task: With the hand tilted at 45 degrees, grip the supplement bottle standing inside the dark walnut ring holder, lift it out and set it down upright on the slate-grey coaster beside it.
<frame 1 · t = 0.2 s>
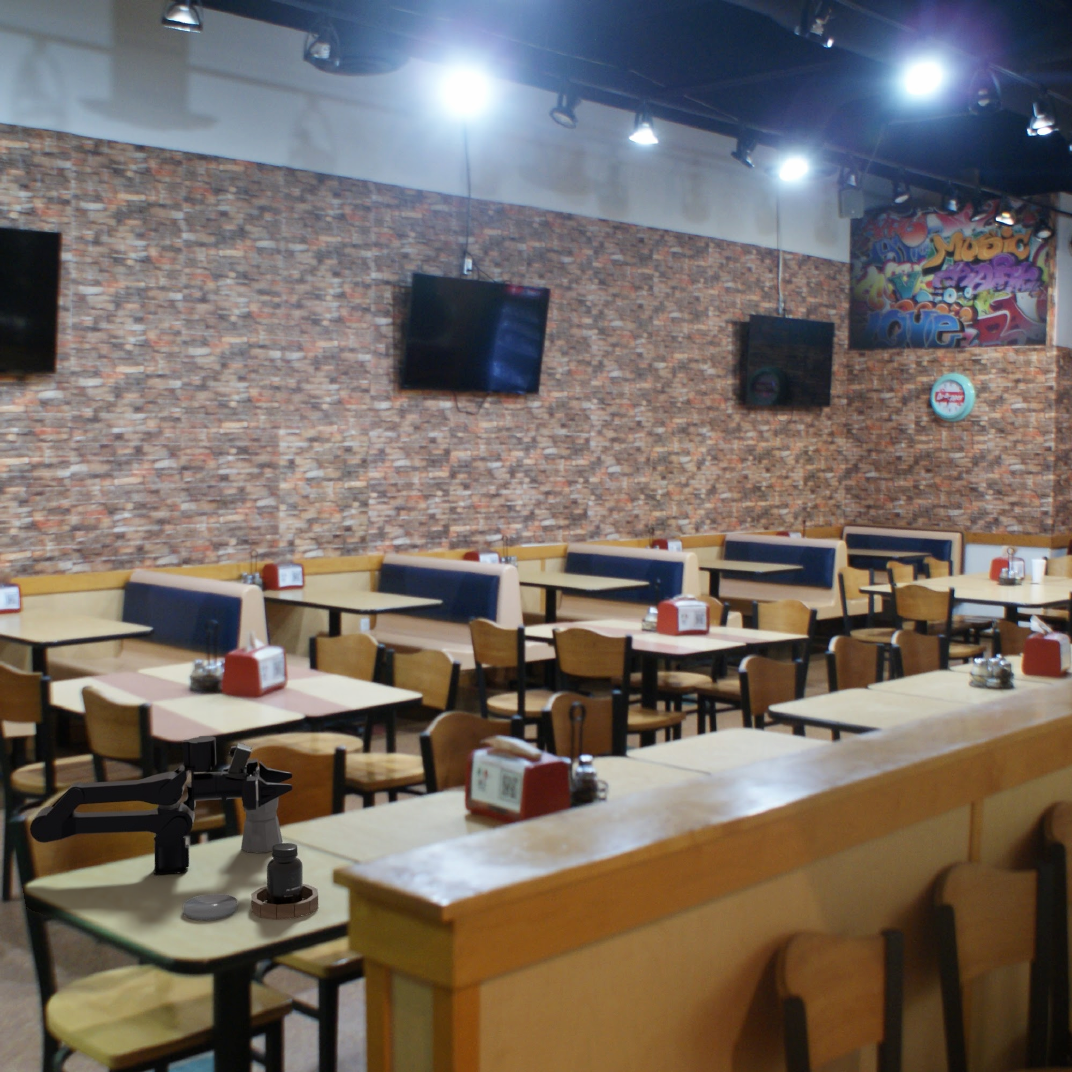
hand: (292, 781, 267), 18 cm above the table, tool horizontal, fingers open, 9 cm apart
coffeepot: (260, 845, 280), on the table, touching gripper
ring holder: (284, 906, 242), on the table
supplement bottle: (284, 908, 242), resting in ring holder
coaster: (210, 910, 240), on the table
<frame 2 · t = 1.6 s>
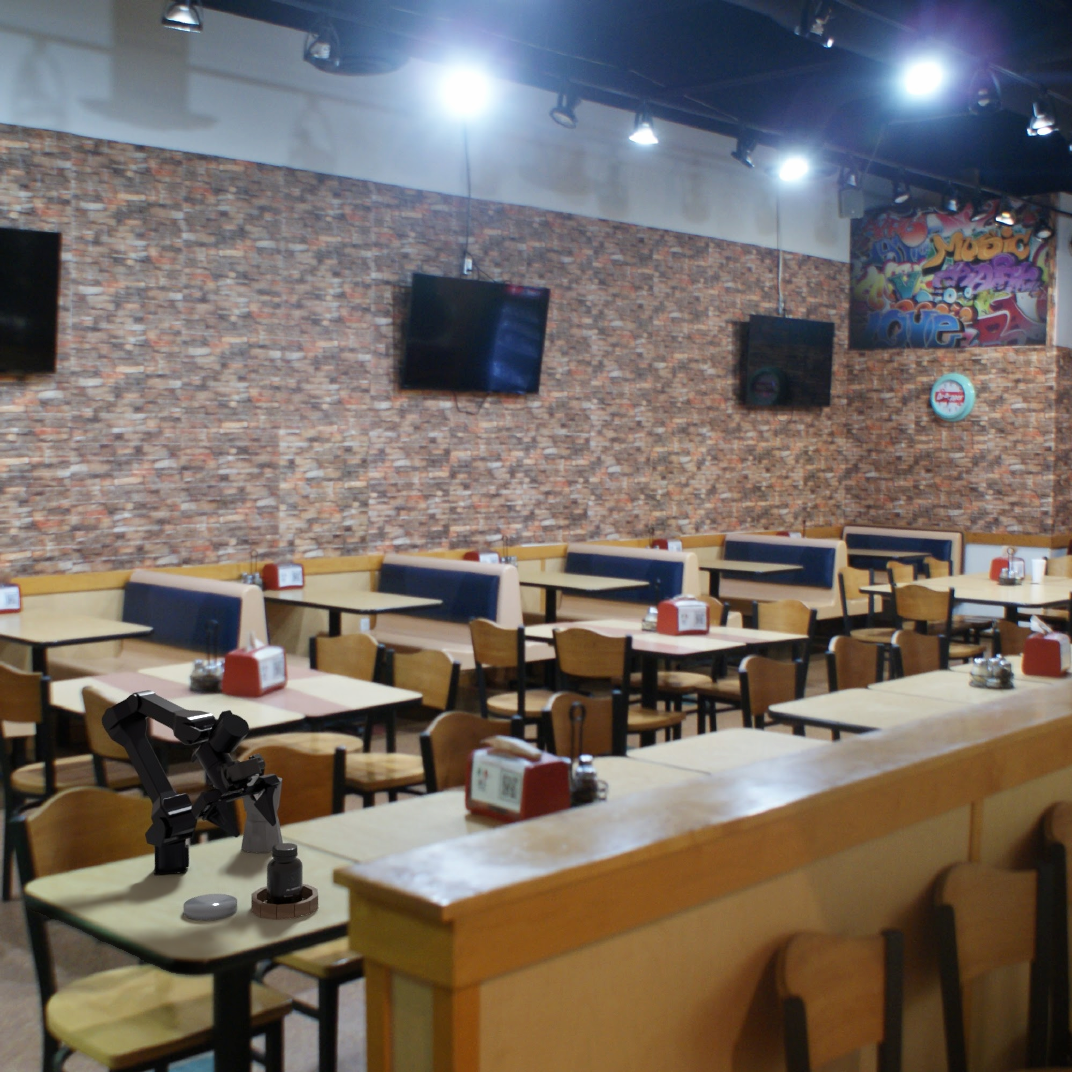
hand: (256, 830, 246), 14 cm above the table, tool tilted 45°, fingers open, 9 cm apart
coffeepot: (261, 846, 280), on the table
everything else where it was.
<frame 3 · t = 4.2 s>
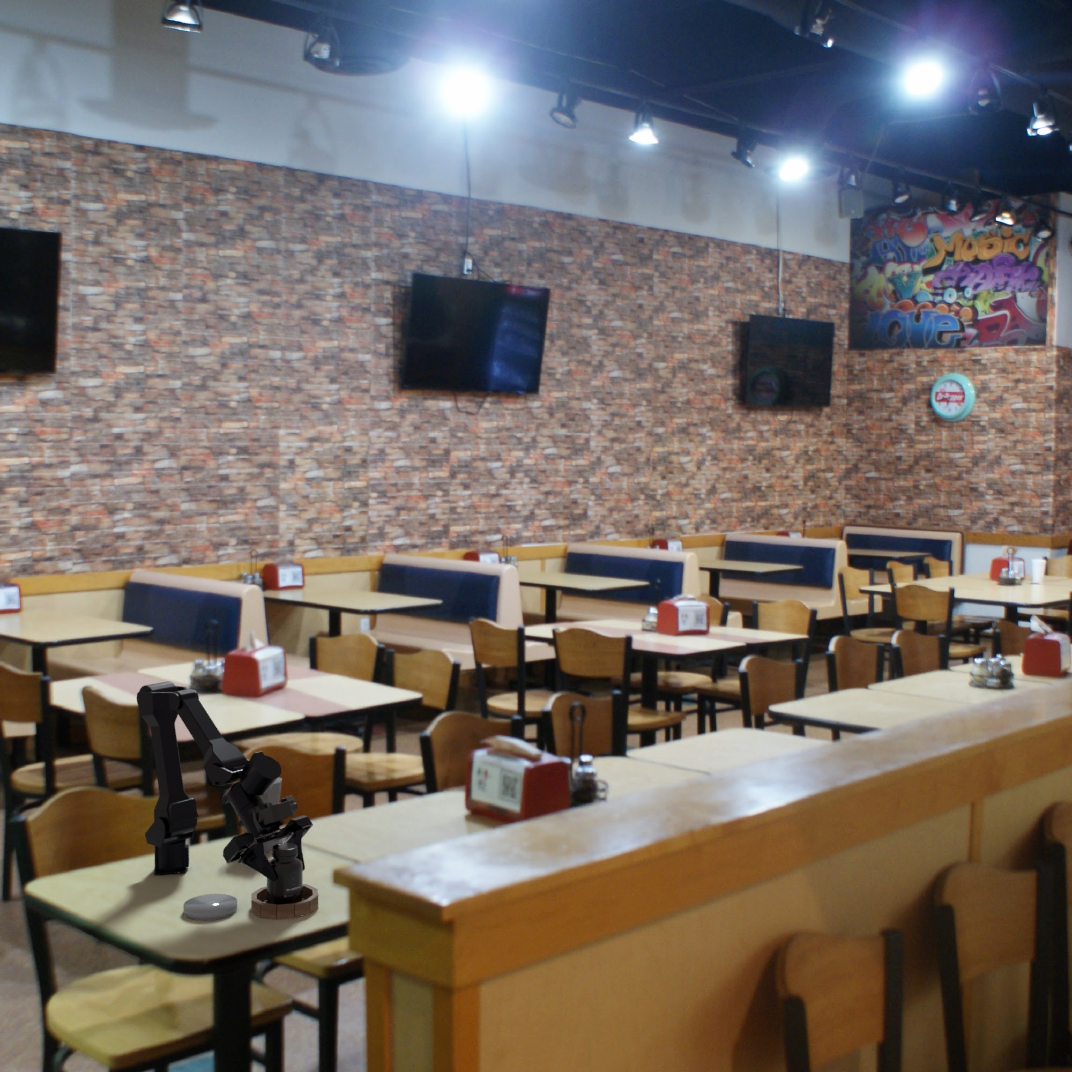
hand: (289, 875, 241), 7 cm above the table, tool tilted 45°, fingers closed on supplement bottle, 7 cm apart
supplement bottle: (284, 908, 242), resting in ring holder, touching gripper
everything else where it was.
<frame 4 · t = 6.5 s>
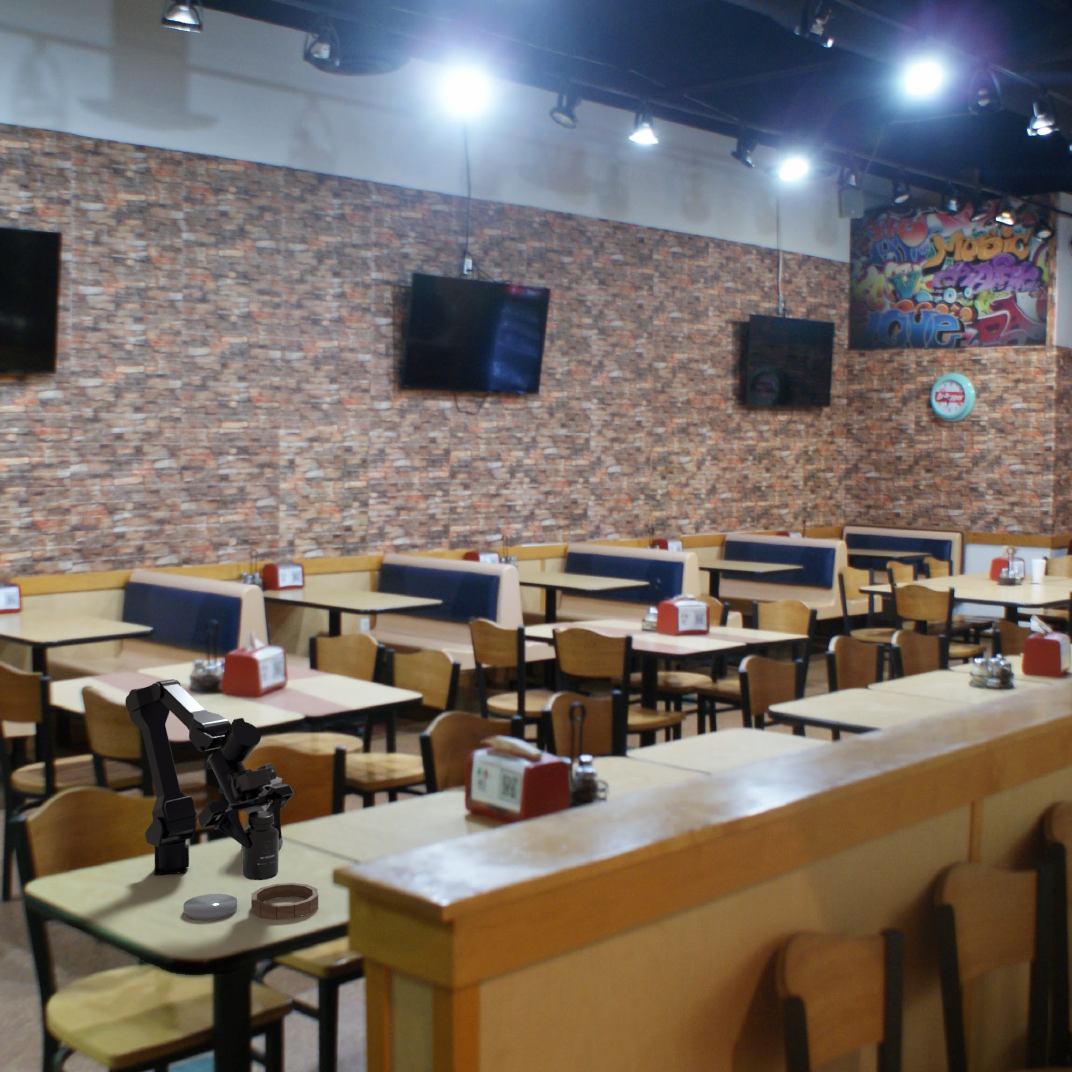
hand: (264, 843, 239), 13 cm above the table, tool tilted 45°, fingers closed on supplement bottle, 7 cm apart
supplement bottle: (260, 876, 241), point 6 cm above the table, touching gripper
everything else where it was.
when the fingers open (9 cm above the table, at t = 8.8 s): supplement bottle drops 1 cm, resting on coaster.
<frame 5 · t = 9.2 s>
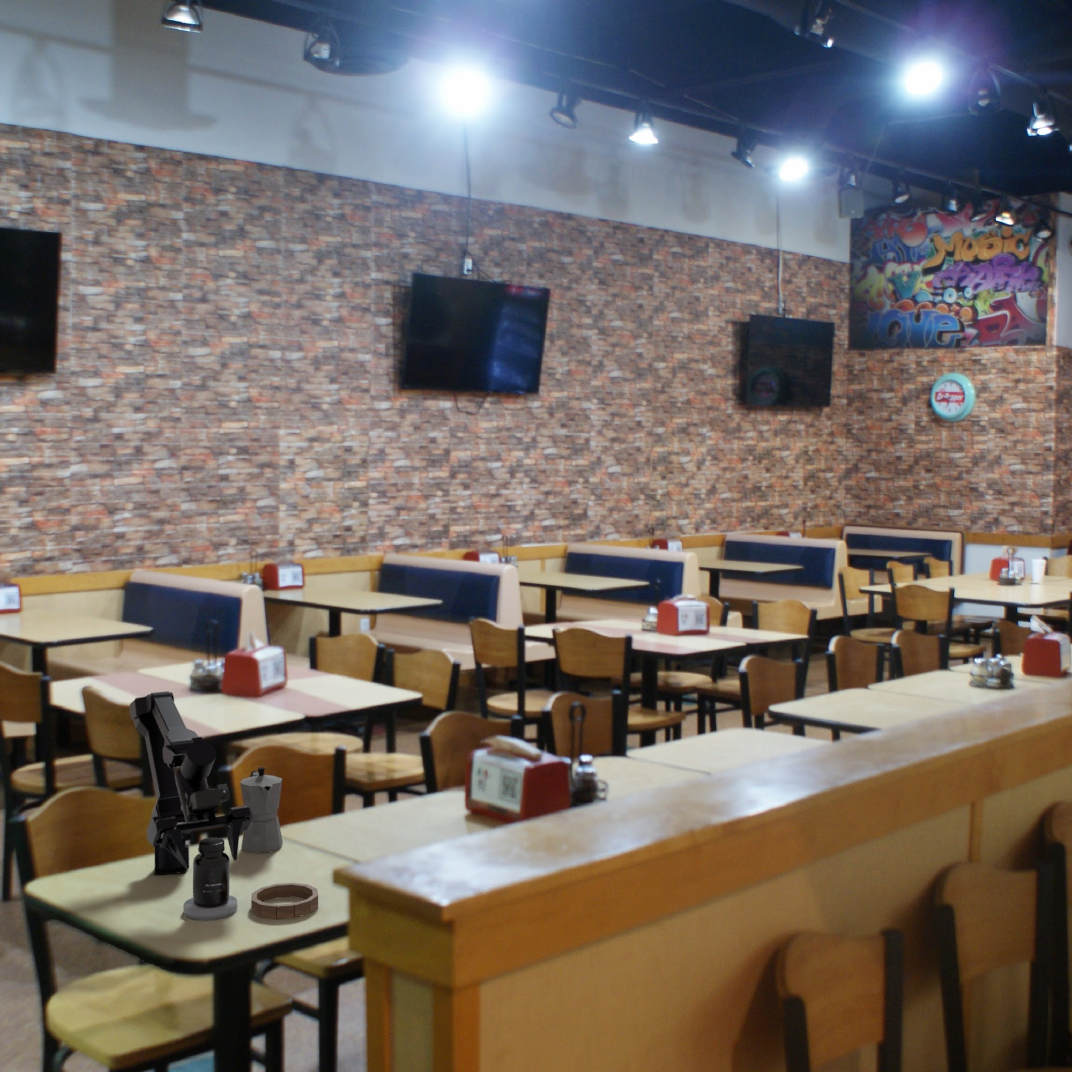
hand: (212, 864, 238), 10 cm above the table, tool tilted 45°, fingers open, 9 cm apart
supplement bottle: (211, 903, 240), point 1 cm above the table, touching coaster
everything else where it was.
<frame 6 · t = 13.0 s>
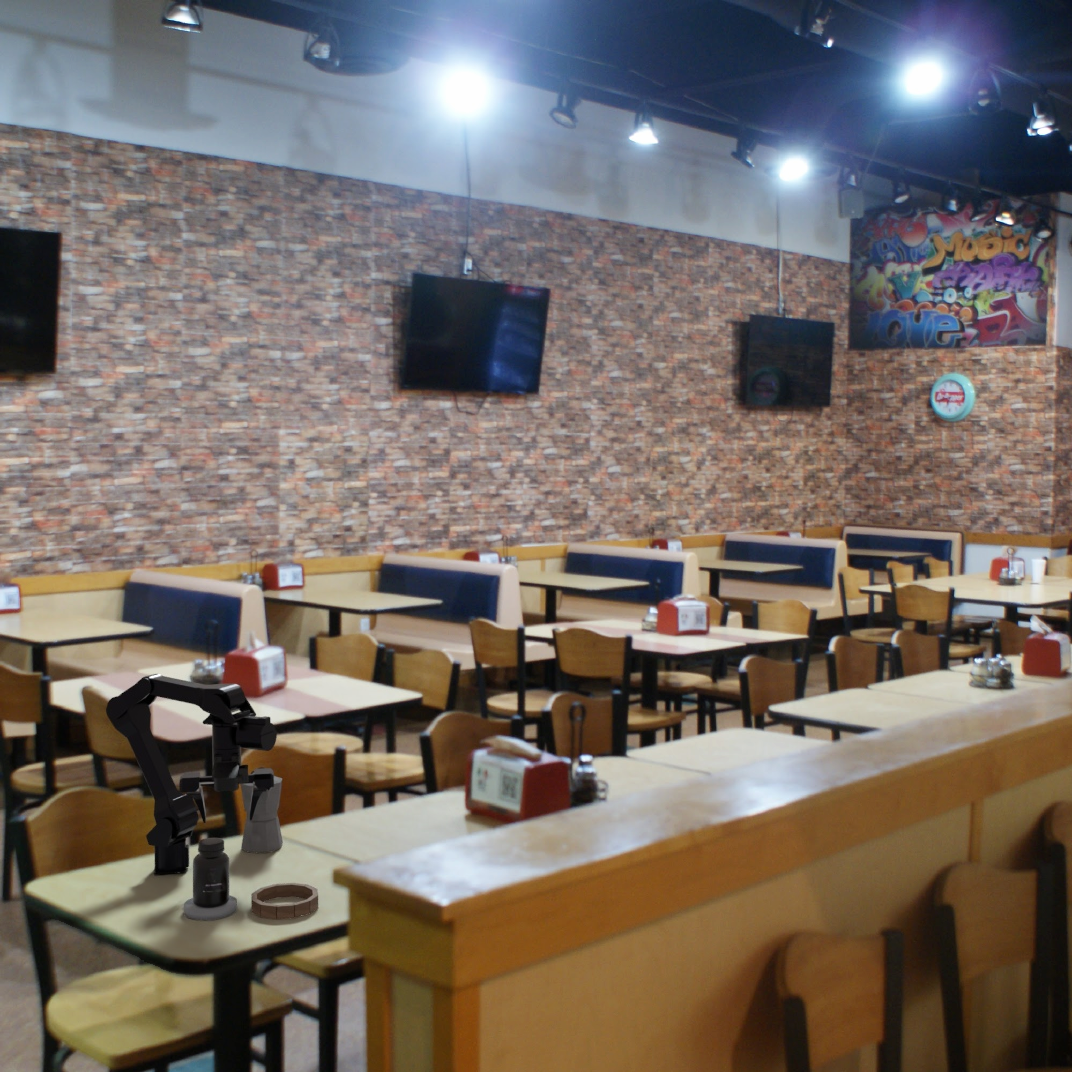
hand: (227, 821, 257), 12 cm above the table, tool pointing down, fingers open, 9 cm apart
nothing on the table moved.
at the end: supplement bottle 0.4 cm off-centre on the coaster, point 1.3 cm above the coaster's base; supplement bottle tilted 0°; the gripper is holding nothing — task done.
